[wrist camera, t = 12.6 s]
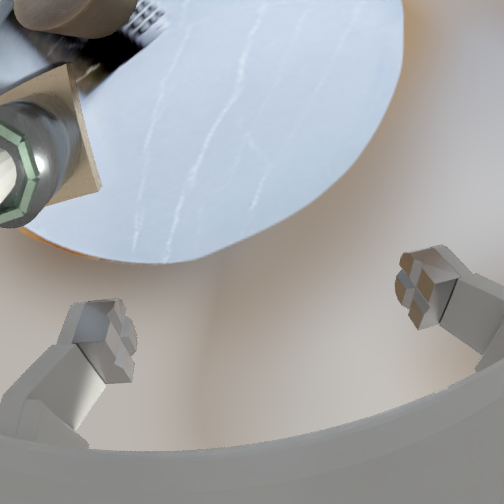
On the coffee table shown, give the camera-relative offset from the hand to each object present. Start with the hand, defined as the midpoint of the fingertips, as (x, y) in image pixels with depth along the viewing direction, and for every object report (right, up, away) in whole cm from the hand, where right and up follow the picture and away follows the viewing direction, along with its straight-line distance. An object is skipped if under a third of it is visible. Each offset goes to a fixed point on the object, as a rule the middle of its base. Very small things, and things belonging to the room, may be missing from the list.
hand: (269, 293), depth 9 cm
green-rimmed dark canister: (-29, +16, +25) cm, 42 cm away
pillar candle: (-19, +31, +17) cm, 40 cm away
